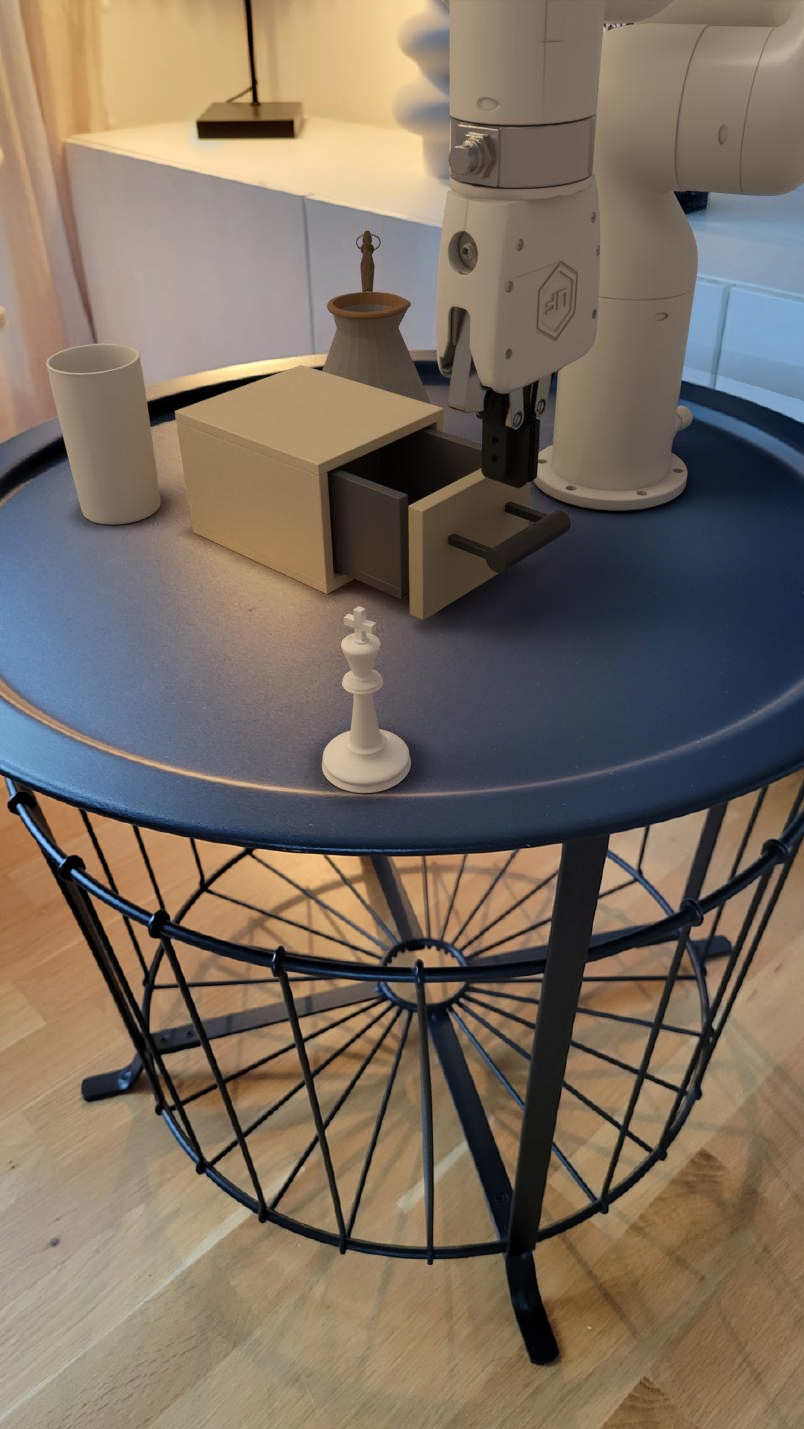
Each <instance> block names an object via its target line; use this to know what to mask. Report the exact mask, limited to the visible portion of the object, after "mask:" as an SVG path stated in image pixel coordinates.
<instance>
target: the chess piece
mask: <svg viewBox="0 0 804 1429" xmlns="http://www.w3.org/2000/svg"><path fill="white" fill-rule="evenodd" d="M366 612H367V611H366V608H364V607H362V606H359V605H358V606H356V607H355V608H354V609H353V614H351V613H347V614H346V615H345V616H344V617H343V625H344V626H346V627H349V628H352V629H354V630H353V631H354V632H353V633H350V634H348V635H346V636H345V637H344V638H343V639H342V641H341V643H340V647H341V652H342V653H343V656H344V657H345V659H346V661H347V663H348V664H347V665H348V667H349V671H347V672H346V673H345V674H344V676H343V677H342V681H341V685H342V688H343V689H344V690H345V691H346V692H348V693H350V694H352V695H353V700H352V711H351V712H352V714H351V722H350V724H351V725H350V730H347V731H344V732H342V733H340V734H337V736H335V737H334V738H333V739H331V740H330V741H329V742H328V743H327V745H326V746H325V748H324V749H323V753H322V760H321V770H322V773H323V776H324V777H325V778H326V779H327V781H328V782H330V783H331V784H332V785H333V786H335V787H336V788H339V789H341V790H344V791H345V792H346V791H347V792H351V793H358V794H371V793H373V794H374V793H379V792H382V791H386V790H388V789H392V788H393V787H395V786H397V785H398V784H400V783H401V782H402V781H403V780H405V779H406V777H407V776H408V774H409V773H410V771H411V765H412V760H411V756H410V750H409V747H408V745H407V744H406V742H405V741H404V740H403V739H402V738H401V737H399V735H397V734H396V733H393V732H391V731H388V730H384V729H381V728H380V727H379V722H378V717H377V712H376V706H375V700H374V693H376V692H378V691H379V690H380V689H381V688H382V687H383V685H384V679H383V677H382V675H381V673H379V671H377V670H376V669H374V668H375V664H376V660H377V657H378V655H379V653H380V650H381V644H382V643H381V640H380V638H379V637H378V636H376V635H375V634H374V633H375V632H376V631H377V630H378V629H377V622H375V621H373V620H370V619H367V615H366V614H367V613H366Z"/></svg>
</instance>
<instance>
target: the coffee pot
mask: <svg viewBox="0 0 804 1429" xmlns="http://www.w3.org/2000/svg"><path fill="white" fill-rule="evenodd" d="M373 237H374V238H376V239H378V245H377V246H376V247H375V246H374V244H372V243H373ZM360 238H362V239H361V240H362V241H361V242H362V244H361V245H360V246H359V244H358V241H359V239H360ZM355 244H356V247H357V249H359V250H360V252H361V254H362V257H361V261H360V263H359V264H360V265H359V268H360V279H361V280H360V281H361V291H358V292H357V291H356V292H351V293H345V294H341V295H338V296H335V297H333V298H330V300H328V302H327V304H326V308H327V310H328V312H329V313H330V314H331V315H332V317H333V320H334V323H335V327H336V330H335V334H334V336H333V339H332V341H331V344H330V347H329V349H328V353H327V356H326V358H325V362H324V364H323V368H322V370H321V371H323V372H326V373H329V374H332V375H336V376H339V377H342V378H346V379H349V380H352V381H355V382H359V383H362V384H365V385H369V386H372V387H375V388H378V389H382V390H385V391H388V392H392V393H395V394H398V395H402V396H405V397H408V398H411V399H415V400H418V401H421V402H425V403H428V404H431V405H432V403H431V401H430V398H429V395H428V393H427V391H426V388H425V386H424V383H423V382H422V379H421V377H420V374H419V372H418V370H417V368H416V365H415V363H414V360H413V358H412V355H411V353H410V352H409V349H408V347H407V346H408V345H407V344H406V342H405V340H404V338H403V335H402V333H401V330H400V325H401V323H402V321H403V319H404V317H405V315H406V313H407V311H408V309H409V308H410V307H411V306H412V303H411V301H410V300H408V299H407V298H405V297H402V296H400V295H397V294H394V293H390V292H384V291H383V292H381V291H374V282H375V281H374V280H375V267H376V265H375V260H374V257H373V254H374V252H375V251H376V250H377V249H379V248H380V247H381V245H382V241H381V238H380V236H378V235H377V234H374V233H371V231H370V230H365V231H364V232H363V234H360V235H359V236H357V237H356V240H355Z"/></svg>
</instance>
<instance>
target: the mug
mask: <svg viewBox="0 0 804 1429" xmlns="http://www.w3.org/2000/svg"><path fill="white" fill-rule="evenodd" d="M141 362H142V361H141V353H140V352H139V350H137V349H136V348H134V347H132V346H129V345H125V344H119V343H91V344H84V345H78V346H73V347H69V348H66V349H63V350H60V351H58V352H55V353H53V354H52V355H51V356H49V357H48V358H47V360H46V362H45V365H46V369H47V374H48V378H49V384H50V388H51V393H52V397H53V401H54V405H55V409H56V414H57V417H58V421H59V425H60V429H61V434H62V439H63V442H64V445H65V450H66V455H67V459H68V463H69V467H70V469H71V475H72V478H73V483H74V487H75V491H76V493H77V498H78V502H79V507H80V510H81V513H82V515H83V516H84V518H85V519H87V520H88V521H90V522H93V523H95V524H96V523H97V524H100V525H125V524H130V523H135V522H139V521H141V520H145V519H146V518H149V517H151V516H152V515H153V514H155V513H156V512H157V511H158V510H159V508H160V507H161V502H162V500H161V494H160V493H161V492H160V487H159V476H158V469H157V462H156V456H155V455H156V454H155V450H154V449H155V448H154V442H153V436H152V428H151V420H150V414H149V407H148V400H147V394H146V393H147V392H146V385H145V378H144V372H143V367H142V363H141Z"/></svg>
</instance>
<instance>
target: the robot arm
mask: <svg viewBox="0 0 804 1429" xmlns="http://www.w3.org/2000/svg"><path fill="white" fill-rule="evenodd" d="M441 2H442V3H443V4H444V5H445V6H446V7H447V8H448V9H449V116H448V118H449V120H448V121H449V122H448V123H449V124H448V126H449V128H448V129H449V130H448V131H449V136H448V137H449V138H448V140H449V142H448V143H449V146H448V147H449V151H448V152H449V153H448V164H449V165H448V166H449V167H448V168H449V169H448V170H449V173H448V174H449V187H450V189H449V190H447V192H446V198H445V205H444V211H443V217H442V225H441V234H440V242H439V250H438V251H439V254H438V263H437V276H436V277H437V278H436V293H435V294H436V295H435V296H436V297H435V298H436V300H435V348H436V359H437V365H438V369H439V372H440V374H441V376H443V377H445V378H447V379H450V381H449V387H448V388H449V389H448V394H447V406H448V408H449V409H453V410H456V411H458V412H462V413H464V414H465V413H466V414H472V413H473V414H474V413H475V417H476V418H477V419H479V420H482V421H481V424H482V426H481V444H482V465H481V471H482V474H483V476H485V477H486V478H489V479H492V480H495V481H498V482H501V483H503V484H506V485H509V486H512V487H515V488H521V487H523V486H524V485H526V484H527V482H531V483H532V482H533V483H534V484H535V485H536V487H538V489H539V490H540V491H542V492H543V493H545V495H548V496H549V497H551V498H553V499H554V500H556V501H560V502H562V503H565V504H568V505H571V506H576V507H579V508H584V509H591V510H596V511H597V510H598V511H610V512H619V511H620V512H621V511H624V512H625V511H636V510H644V509H649V508H650V509H651V508H655V507H657V506H660V505H663V504H667V503H668V502H670V501H672V500H674V499H676V498H677V497H679V495H681V494H682V493H683V491H684V490H685V489H686V486H687V480H688V473H689V472H688V468H687V466H686V464H685V462H684V461H683V460H682V459H681V458H680V457H679V456H677V455H676V454H675V453H673V452H672V449H673V443H674V442H673V441H674V438H675V436H676V435H677V434H678V433H679V432H681V431H683V430H685V429H686V428H688V427H690V426H691V424H692V423H693V419H694V417H693V413H692V410H691V408H689V407H688V406H685V405H679V400H680V393H681V386H682V379H683V373H684V367H685V359H686V352H687V346H688V339H689V331H690V326H691V319H692V311H693V304H694V299H695V298H694V296H695V291H696V284H697V277H698V270H699V269H698V268H699V251H698V246H697V240H696V237H695V234H694V231H693V228H692V226H691V224H690V222H689V219H688V217H687V215H686V213H685V211H684V210H683V208H682V206H681V204H680V202H679V200H678V198H677V196H676V194H675V192H687V191H690V192H700V193H701V192H703V193H715V194H728V195H739V196H750V197H776V196H783V195H786V194H790V193H792V192H793V191H795V190H797V189H798V188H799V187H801V186H802V185H804V0H441ZM614 24H615V25H616V24H617V25H618V24H620V25H621V26H617V27H613V28H611V29H608V30H605V31H604V27H605V26H604V25H614ZM623 24H625V25H623ZM556 376H557V380H556V381H557V382H556V394H555V410H554V422H553V423H554V424H553V436H552V444H551V445H548V446H547V447H545V448H543V449H542V450H540V437H541V436H540V435H541V433H540V432H541V419H539V418H541V417H543V416H544V415H545V413H546V412H547V409H548V402H549V395H550V389H551V384H552V382H553V381H554V378H555V377H556Z"/></svg>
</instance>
